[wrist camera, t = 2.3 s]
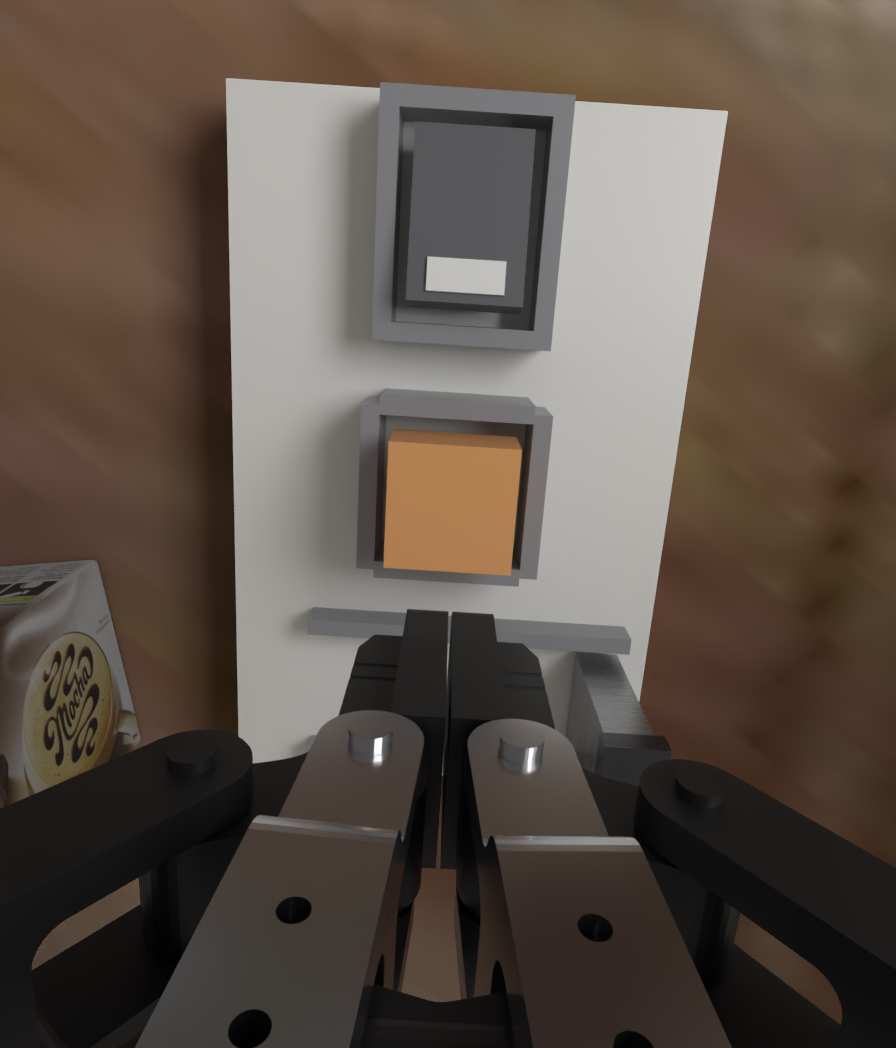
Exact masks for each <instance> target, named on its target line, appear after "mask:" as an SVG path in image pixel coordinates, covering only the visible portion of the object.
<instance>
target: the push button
mask: <svg viewBox="0 0 896 1048" xmlns="http://www.w3.org/2000/svg"><path fill="white" fill-rule="evenodd" d="M521 457H522V449H521V446H520V444H519V442H518V440H517V438H516V437H510V436H494V435H478V434H463V433H447V432H432V431H416V430H400V429H395V430H394V432H393V434H392V436H391V438H390V439H389V441H388V465H387V490H386V515H385V540H384V565H383V568H396V569H412V570H428V571H444V572H459V573H475V574H491V575H507V576H511V566H512V555H513V544H514V533H515V522H516V512H517V501H518V490H519V479H520V468H521Z"/></svg>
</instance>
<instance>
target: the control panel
mask: <svg viewBox="0 0 896 1048" xmlns="http://www.w3.org/2000/svg"><path fill="white" fill-rule="evenodd" d="M575 99H576V95H567V94H552V93H536V92H521V91H506V90H491V89H476V88H460V87H445V86H430V85H415V84H400V83H384V82H380V88H368V87H353V86H338V85H322V84H307V83H292V82H277V81H262V80H246V79H231V78H226V107H227V159H228V212H229V264H230V317H231V369H232V422H233V474H234V527H235V579H236V632H237V684H238V736H239V737H240V738H241V739H243V740H244V741H245V742H246V743H247V744H248V745H249V746H250V748H251V751H252V756H253V763H261V762H268V761H275V760H281V759H287V758H291V757H295V756H299V755H302V754H304V753H307V752H309V750H310V748H311V746H312V744H313V742H314V740H315V737H316V735H317V733H318V731H319V730H320V728H321V727H322V726H323V725H324V724H325V723H327V722H328V721H330V720H331V719H333V718H335V717H337V716H339V712H340V709H341V705H342V702H343V698H344V695H345V692H346V688H347V685H348V681H349V679H350V674H351V671H352V667H353V666H354V661H355V657H356V654H357V650H358V647H359V646H360V645H362V644H363V643H364V642H366V641H367V640H368V639H369V638H371V637H372V636H373V635H392V636H403V631H404V625H405V619H406V613H407V609H418V610H434V611H448V650H447V674H448V659H449V645H450V630H451V617H452V612H468V613H485V614H493V615H494V621H495V629H496V637H497V642H508V643H523V644H524V645H525V646H526V647H527V648H528V649H529V650H530V651H531V652H532V653H534V654H535V655H536V656H537V657H538V659H539V663H540V667H541V671H542V677H543V680H544V684H545V691H546V692H547V696H548V701H549V705H550V709H551V713H552V717H553V721H554V726H555V730H557V731H558V732H560V733H561V734H562V735H564V736H566V728H567V719H568V711H569V703H570V694H571V686H572V678H573V670H574V661H575V653H576V652H583V653H599V654H615V655H617V656H618V658H619V660H620V663H621V665H622V667H623V669H624V671H625V673H626V675H627V678H628V680H629V682H630V684H631V686H632V688H633V691H634V693H635V695H636V697H637V699H638V701H640V694H641V687H642V681H643V674H644V667H645V661H646V654H647V647H648V641H649V634H650V627H651V621H652V614H653V607H654V601H655V594H656V587H657V581H658V574H659V567H660V561H661V554H662V547H663V541H664V534H665V528H666V521H667V514H668V508H669V501H670V494H671V488H672V481H673V474H674V468H675V461H676V454H677V448H678V441H679V434H680V428H681V421H682V414H683V408H684V401H685V394H686V388H687V381H688V374H689V368H690V361H691V354H692V348H693V341H694V334H695V328H696V321H697V314H698V308H699V301H700V294H701V288H702V281H703V274H704V268H705V261H706V254H707V248H708V241H709V235H710V228H711V221H712V215H713V208H714V201H715V195H716V188H717V181H718V175H719V168H720V161H721V155H722V148H723V141H724V135H725V128H726V121H727V115H728V111H718V110H702V109H687V108H672V107H657V106H642V105H626V104H611V103H596V102H581V101H575ZM416 121H418V122H434V123H449V124H464V125H479V126H494V127H510V128H525V129H536V133H535V147H534V160H533V174H532V188H531V202H530V215H529V229H528V243H527V257H526V271H525V284H524V298H523V308H522V310H521V312H520V314H507V313H492V312H477V311H461V310H446V309H430V308H415V307H408V306H407V303H406V283H407V265H408V247H409V229H410V211H411V193H412V176H413V158H414V140H415V122H416ZM395 429H400V430H416V431H432V432H447V433H463V434H478V435H494V436H510V437H516V438H517V440H518V442H519V444H520V446H521V449H522V457H521V468H520V479H519V490H518V501H517V512H516V522H515V533H514V544H513V555H512V566H511V576H507V575H491V574H475V573H459V572H444V571H428V570H412V569H396V568H383V565H384V540H385V515H386V490H387V465H388V441H389V439H390V438H391V436H392V434H393V432H394V430H395ZM443 755H444V752H443ZM442 775H443V767H442Z"/></svg>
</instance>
